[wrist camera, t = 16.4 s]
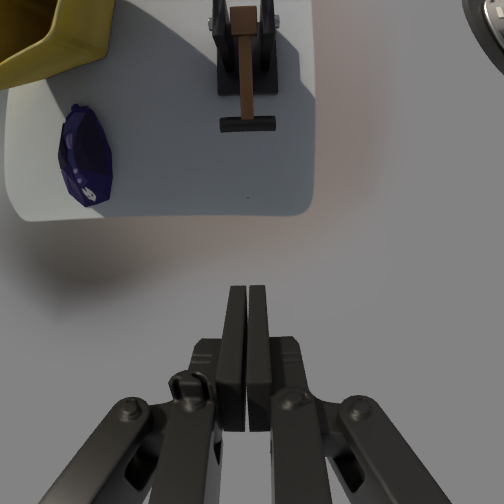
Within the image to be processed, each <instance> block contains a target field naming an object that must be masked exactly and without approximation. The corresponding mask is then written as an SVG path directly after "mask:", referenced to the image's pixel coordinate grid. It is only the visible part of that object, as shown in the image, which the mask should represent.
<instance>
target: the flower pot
mask: <svg viewBox="0 0 504 504" xmlns="http://www.w3.org/2000/svg"><path fill="white" fill-rule="evenodd" d="M114 4H115V0H0V90H4V89H8V88H12V87H16V86H20V85H24V84H27V83H31V82H35V81H39V80H42V79H46V78H48V77H51V76H53V75H55V74H58V73H61V72H63V71H66V70H69V69H71V68H74V67H77V66H80V65H83V64H86V63H89V62H93V61H96V60H99V59H102V58H103V57H105V55H106V54H107V51H108V43H109V35H110V28H111V22H112V16H113V10H114Z"/></svg>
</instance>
